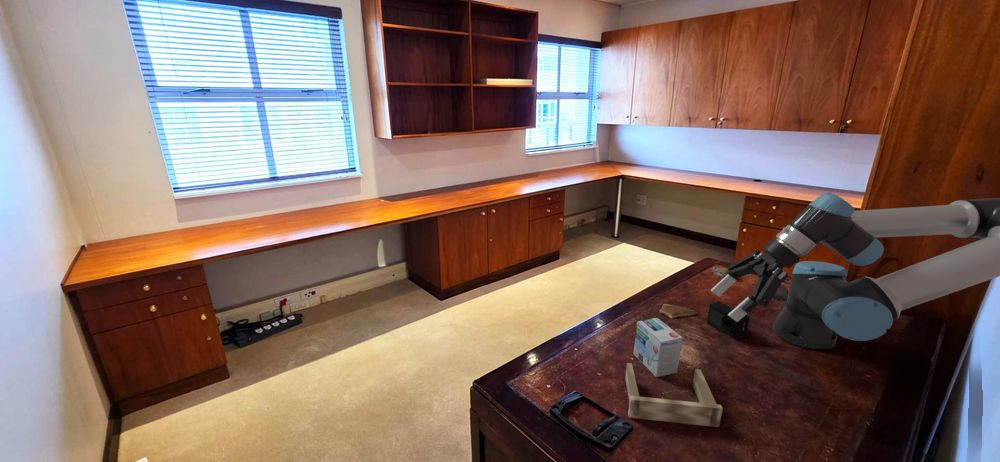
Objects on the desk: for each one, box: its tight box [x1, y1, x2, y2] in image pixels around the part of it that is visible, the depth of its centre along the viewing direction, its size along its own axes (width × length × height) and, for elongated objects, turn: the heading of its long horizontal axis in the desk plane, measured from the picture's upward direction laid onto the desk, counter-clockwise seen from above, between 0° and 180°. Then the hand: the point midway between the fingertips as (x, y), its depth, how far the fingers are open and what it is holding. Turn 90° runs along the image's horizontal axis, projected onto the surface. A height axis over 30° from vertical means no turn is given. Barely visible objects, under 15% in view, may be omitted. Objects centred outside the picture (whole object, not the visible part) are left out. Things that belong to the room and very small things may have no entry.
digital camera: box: [706, 300, 750, 340], centre depth 123 cm, size 10×5×7 cm, turn 23°
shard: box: [659, 303, 699, 319], centre depth 133 cm, size 11×8×2 cm
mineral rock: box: [711, 266, 737, 281], centre depth 161 cm, size 11×4×8 cm
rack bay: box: [624, 362, 723, 428], centre depth 95 cm, size 19×13×5 cm
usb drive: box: [773, 283, 788, 302], centre depth 146 cm, size 5×12×3 cm, turn 149°
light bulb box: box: [633, 317, 683, 378], centre depth 108 cm, size 11×7×11 cm, turn 16°
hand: (722, 305), depth 108 cm, fingers open, 13 cm apart
